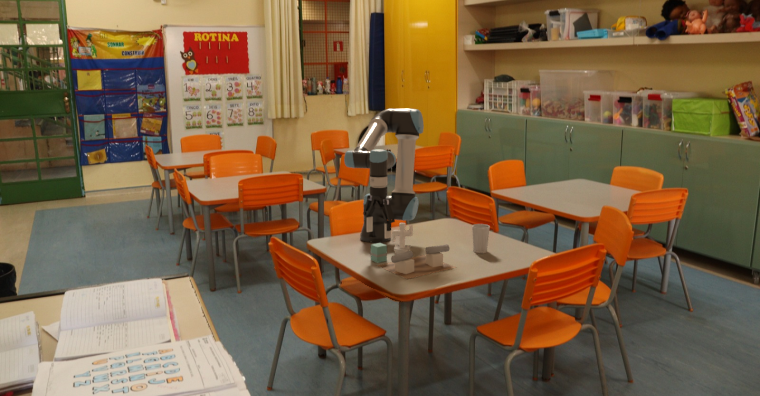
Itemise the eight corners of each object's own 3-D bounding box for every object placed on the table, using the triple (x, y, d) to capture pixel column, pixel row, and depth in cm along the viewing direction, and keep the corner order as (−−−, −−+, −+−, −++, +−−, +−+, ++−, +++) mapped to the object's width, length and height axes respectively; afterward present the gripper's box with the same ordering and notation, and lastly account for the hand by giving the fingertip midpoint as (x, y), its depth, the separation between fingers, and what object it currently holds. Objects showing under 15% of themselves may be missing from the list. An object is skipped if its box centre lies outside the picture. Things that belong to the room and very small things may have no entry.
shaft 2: (443, 260, 270) (444, 242, 268) (450, 264, 265) (451, 246, 263) (423, 263, 266) (423, 245, 264) (430, 267, 260) (430, 249, 259)
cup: (468, 251, 287) (468, 226, 284) (477, 247, 293) (478, 223, 290) (482, 254, 282) (483, 229, 279) (492, 251, 287) (493, 225, 285)
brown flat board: (375, 267, 264) (375, 265, 264) (423, 257, 278) (423, 254, 278) (407, 281, 246) (407, 279, 246) (456, 269, 261) (456, 267, 260)
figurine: (392, 252, 285) (392, 220, 282) (412, 253, 285) (413, 221, 281) (391, 257, 278) (391, 224, 275) (412, 257, 277) (412, 225, 274)
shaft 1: (399, 276, 249) (399, 257, 247) (388, 273, 253) (388, 254, 252) (415, 270, 256) (415, 252, 254) (404, 267, 260) (405, 249, 259)
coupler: (370, 262, 271) (370, 244, 270) (380, 260, 274) (380, 242, 273) (377, 265, 267) (377, 247, 265) (387, 263, 270) (387, 245, 268)
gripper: (355, 183, 272) (355, 230, 276) (388, 191, 252) (388, 242, 256) (369, 181, 276) (369, 228, 280) (403, 189, 256) (402, 239, 260)
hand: (378, 234), depth 268 cm, fingers open, 13 cm apart
